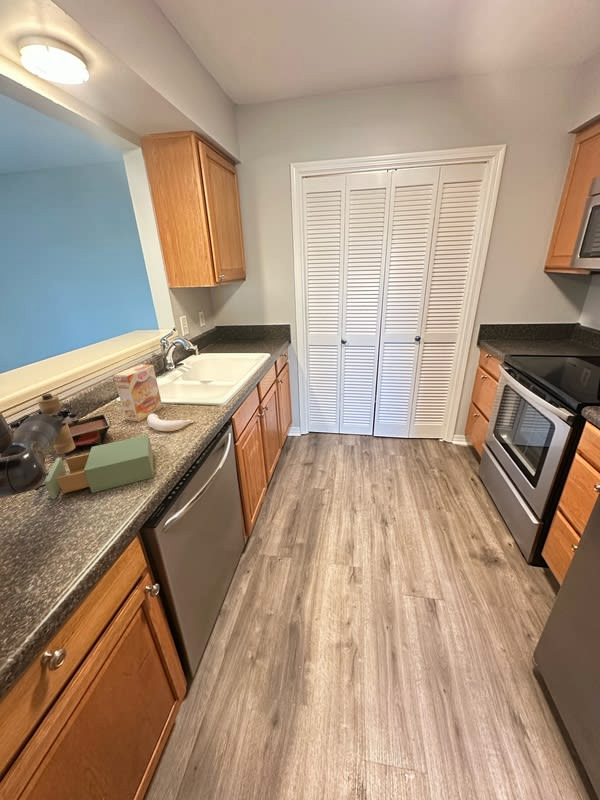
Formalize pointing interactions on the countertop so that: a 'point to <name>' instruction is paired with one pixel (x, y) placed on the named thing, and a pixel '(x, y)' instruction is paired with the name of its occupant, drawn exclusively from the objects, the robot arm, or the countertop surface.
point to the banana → (166, 423)
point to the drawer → (66, 476)
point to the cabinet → (119, 463)
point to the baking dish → (89, 430)
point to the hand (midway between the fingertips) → (55, 409)
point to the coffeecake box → (138, 392)
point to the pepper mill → (65, 439)
